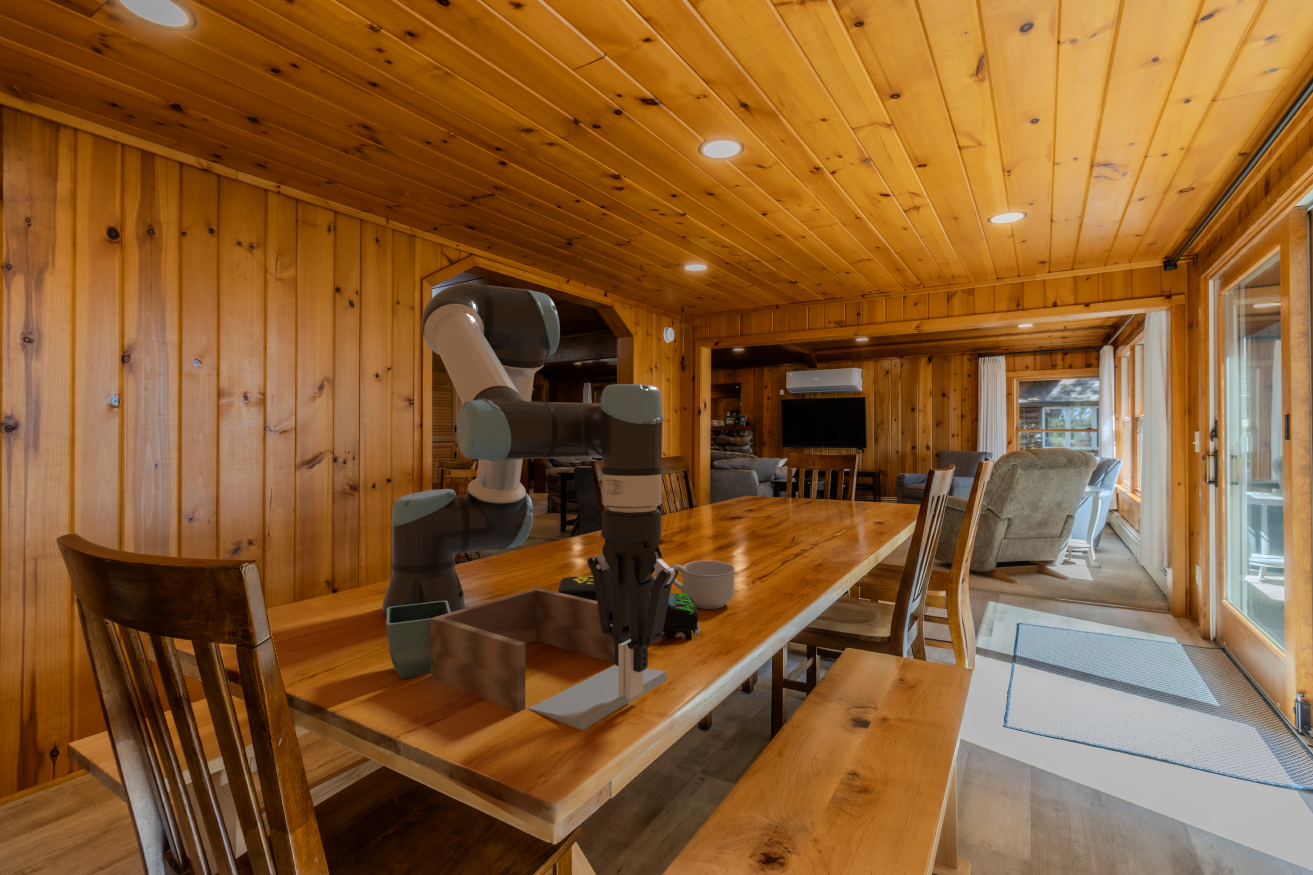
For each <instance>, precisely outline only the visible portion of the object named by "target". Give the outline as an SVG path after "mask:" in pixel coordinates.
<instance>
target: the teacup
mask: <svg viewBox="0 0 1313 875" xmlns="http://www.w3.org/2000/svg"><path fill="white" fill-rule="evenodd" d="M671 567H676V568H677V569H678V572H680V574H681V577H682V583H681V582H679V580H677V578H676V579H675V580H674V582H673V584H672V585H674V586H675V587H676V588H678V589H679V590H680V591H681V592H680V593H686V594H688V595H689V596H690V597H691V598H692V599H693V601H694V602H695V604H696V607H697V609H701V610H717V609H720V608H723V607H725V605H726V604H727V603H729V602H730V601H731V600H732V599H733V597H734V594H735V571H736V567H735V566H734V565H733V564H731V563H728V562H724V561H720V560H711V559H710V560H707V559H706V560H704V559H703V560H694V561H689V562H687V563H685V564H683V565H681V564H673V565H671Z"/></svg>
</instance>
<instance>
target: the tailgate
mask: <svg viewBox="0 0 1313 875" xmlns="http://www.w3.org/2000/svg"><path fill="white" fill-rule="evenodd" d="M618 679H619V666H616V664H615V665H614V664H613V665H612V666H610V667H609V668H607V669H605V670H603V671H601V672H599V673H596V674H594V675H593V676H590V677H588V678H587V679H585V680H582V681H580V682H579V683H576V684H574V685H572V686H571V687H568V688H566V689H564V690H562V691H560V692H558V693H557V694H554V695H552V696H550V697H548V698H546V699H544V700H542V701H540V702H539V703H536V704H535V705H532V706H530V707H529V708H528V707H527V709H528V710H530V711H533V712H535V713H537V714H540V715H543V716H545V717H547V718H550V719H553V720H555V721H558V722H560V723H563V724H564V725H565V724H566V725H568V726H571V727H573V728H574V729H577V730H580V731H584V730H586V729H587V728H589V727H591V726H592V725H593V724H596V723H598V722H599V721H601V720H602V719H604V718H605V717H607V716H608V715H610V714H612V713H614V712H616V711H617V710H619V709H622V708H623V707H624V706H625V705H628V704H629V703H631V702H633V701H635V700H636V699H638V698H639V697H641V696H642V695H644V694H646V693H648V692H650V691H651V690H653V689H654V688H657V687H658V686H660V685H661V684H663V683H665V682H666V681H668V676H667V671H665V670H664V671H663V670H658V669H650V668H646V669H645V670H643V692H642V693H640V694H639V695H637V696H635V697H633V698H632V699H627V698H625V696H624V697H621V696H618Z"/></svg>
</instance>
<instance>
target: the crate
mask: <svg viewBox="0 0 1313 875" xmlns="http://www.w3.org/2000/svg"><path fill="white" fill-rule="evenodd" d="M610 622H611V621H610ZM536 641H538V642H541V643H545V644H548V645H550V646H554V647H557V648H561V649H564V650H568V651H571V652H574V653H578V654H581V655H584V656H588V657H591V658H594V659H598V660H602V661H604V662H608V663H612V664H613V665H614V664H615V642H614V640H613V638H612V636H610V635H609V634H604V633H603V632H602V629H601V623H600V617H599V610H598V604H597V601H594V600H590V599H585V598H581V597H576V596H572V595H568V594H563V593H559V592H558V591H553V590H549V589H544V588H540V587H534V588H530V589H527V590H524V591H521V592H517V593H514V594H510V595H507V596H503V597H500V598H496V599H492V600H490V601H486V602H482V603H479V604H475V605H472V606H469V607H466V608H465V607H464V608H463V609H461V610H458V611H454V612H451V613H447V614H444V615H440V616H437V617H433V618H431V671H430V677H431V678H432V679H433V678H434V679H436V680H438V681H440V682H443V683H445V684H448V685H450V686H453V687H456V688H457V689H460V690H462V691H464V692H467V693H469V694H472V695H474V696H477V697H479V698H482V699H483V700H487V701H488V702H490V703H491V702H492V703H494V704H496V705H499V706H502V707H504V708H506V709H508V710H511V711H514V712H516V713H520V712H522V711H524V710H526V645H529V644H532V643H533V642H536ZM615 665H616V664H615Z"/></svg>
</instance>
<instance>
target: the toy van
mask: <svg viewBox="0 0 1313 875" xmlns="http://www.w3.org/2000/svg"><path fill="white" fill-rule="evenodd" d="M654 581H655V579H654V578H653V576H652V585H651V588H650V590H649V597H650V596H651V591H652V586H653V583H654ZM557 592H559V593H563V594H568V595H572V596H576V597H581V598H585V599H590V600H594V601H597V598H596V591H595V585H594V579H593V575H585V576H568V577H563V578H562V579H561V580H560V584H559V587H558V591H557ZM698 620H699V611H698V607H696V604H695V602H694V601H693V599H692V598H691V597H690V596H689V595H688V594H686V593H682V592H680V593H679V592H677V593H676V592H670V597H669V602H668V607H667V612H666V617H665V622H664V627H663V632H662V637H661V638H667V637H668V638H669V639H672V638H678V639H683V640H687V641H691V642H692V640H693V634H694V636H696V637H697V636H699V634H700V631H701V629H700V627H699V623H698ZM692 632H693V633H692ZM629 639H631V636H630V637H629Z"/></svg>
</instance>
